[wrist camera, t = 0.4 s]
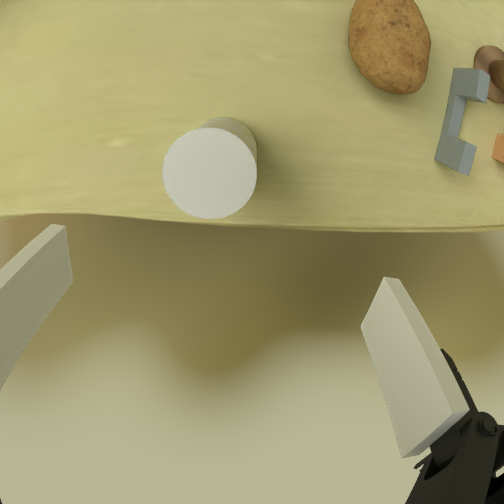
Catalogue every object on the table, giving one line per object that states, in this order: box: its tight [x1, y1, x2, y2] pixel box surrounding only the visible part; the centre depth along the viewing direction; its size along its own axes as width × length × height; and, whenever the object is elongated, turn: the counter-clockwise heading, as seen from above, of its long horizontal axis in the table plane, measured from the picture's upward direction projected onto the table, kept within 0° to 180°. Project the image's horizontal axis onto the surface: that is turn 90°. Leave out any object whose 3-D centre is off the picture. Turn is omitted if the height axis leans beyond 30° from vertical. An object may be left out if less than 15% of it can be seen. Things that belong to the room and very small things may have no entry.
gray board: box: [434, 68, 490, 176], centre depth 29 cm, size 14×2×6 cm, turn 171°
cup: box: [162, 117, 257, 219], centre depth 30 cm, size 8×8×12 cm
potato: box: [349, 0, 431, 95], centre depth 24 cm, size 10×14×8 cm
